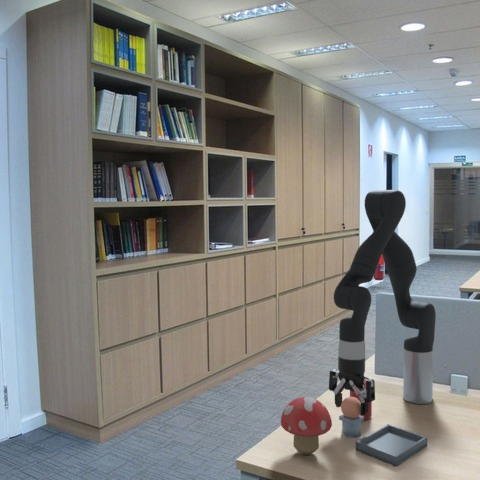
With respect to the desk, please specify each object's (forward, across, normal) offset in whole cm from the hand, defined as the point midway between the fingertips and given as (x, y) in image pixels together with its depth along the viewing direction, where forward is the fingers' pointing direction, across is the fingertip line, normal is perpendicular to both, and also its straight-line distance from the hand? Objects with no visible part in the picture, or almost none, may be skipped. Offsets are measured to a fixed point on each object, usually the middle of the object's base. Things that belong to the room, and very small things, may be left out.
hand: (351, 410), depth 149 cm
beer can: (+7, +5, -12) cm, 15 cm away
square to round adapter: (+7, 0, 0) cm, 7 cm away
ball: (+2, 0, 0) cm, 2 cm away
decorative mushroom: (+7, +1, +19) cm, 20 cm away
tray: (+7, -13, 0) cm, 15 cm away
